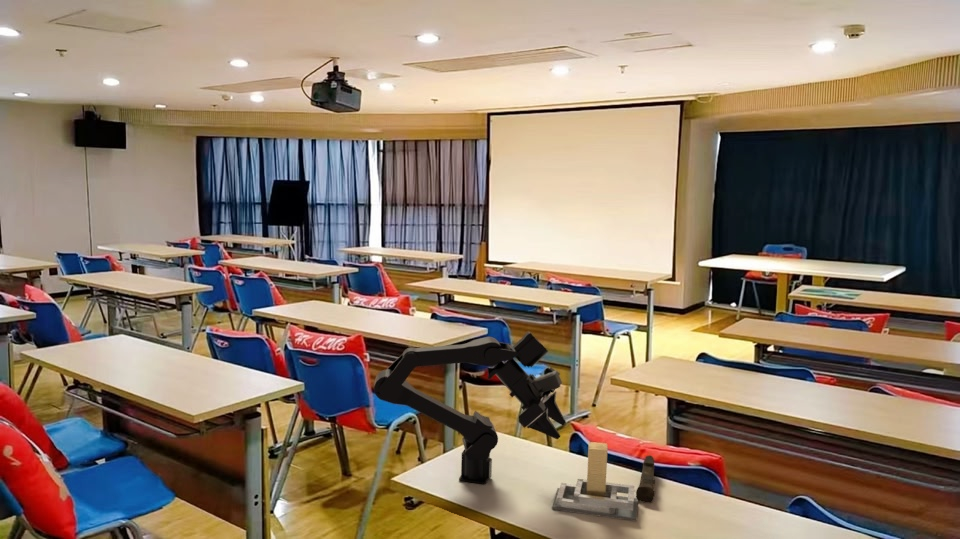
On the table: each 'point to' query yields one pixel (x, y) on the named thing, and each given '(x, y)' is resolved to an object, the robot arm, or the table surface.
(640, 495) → the dark brown rod
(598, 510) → the grey slotted holder
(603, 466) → the pin
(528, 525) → the table surface
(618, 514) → the mat
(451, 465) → the table surface
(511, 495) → the table surface
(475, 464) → the robot arm
